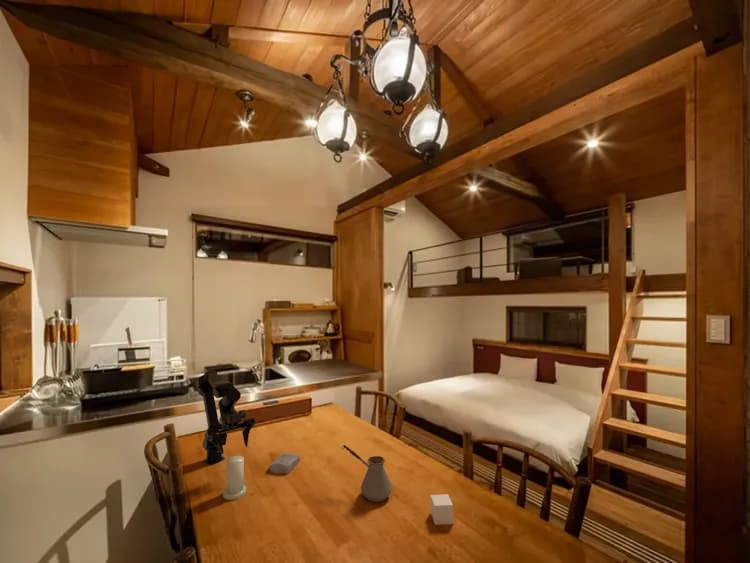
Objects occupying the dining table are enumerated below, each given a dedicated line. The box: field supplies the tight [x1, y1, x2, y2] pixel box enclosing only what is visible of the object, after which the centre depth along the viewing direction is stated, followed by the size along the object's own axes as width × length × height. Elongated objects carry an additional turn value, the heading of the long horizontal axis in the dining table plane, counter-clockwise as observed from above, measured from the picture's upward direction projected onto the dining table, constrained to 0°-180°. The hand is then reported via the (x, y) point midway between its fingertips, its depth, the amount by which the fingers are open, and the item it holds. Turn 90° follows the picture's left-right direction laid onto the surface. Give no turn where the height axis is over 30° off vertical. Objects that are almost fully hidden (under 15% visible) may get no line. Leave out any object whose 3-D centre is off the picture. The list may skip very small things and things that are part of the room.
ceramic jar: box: [222, 455, 247, 501], centre depth 127 cm, size 8×8×12 cm
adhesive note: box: [430, 493, 454, 526], centre depth 112 cm, size 6×6×6 cm
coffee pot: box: [341, 444, 393, 503], centre depth 128 cm, size 21×12×15 cm, turn 58°
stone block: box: [269, 452, 300, 475], centre depth 147 cm, size 12×5×10 cm
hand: (234, 450), depth 134 cm, fingers open, 9 cm apart
